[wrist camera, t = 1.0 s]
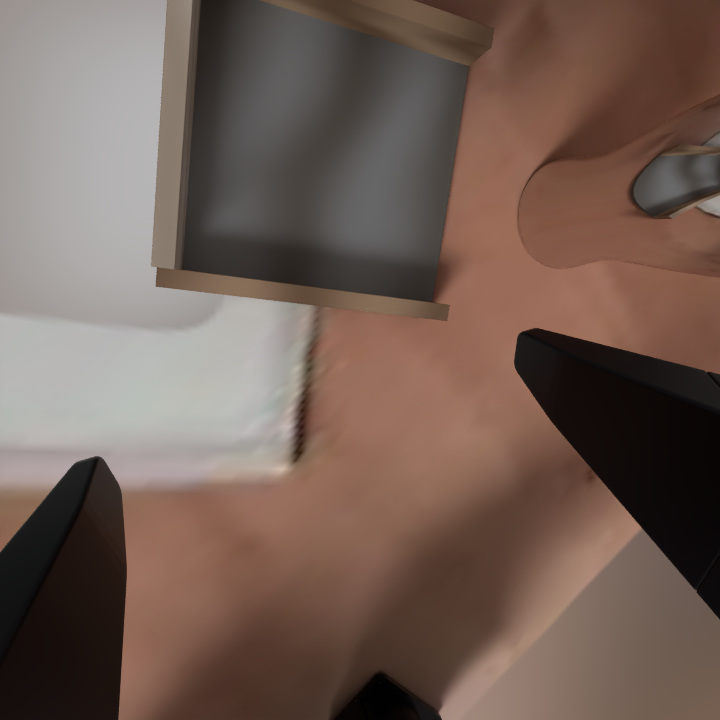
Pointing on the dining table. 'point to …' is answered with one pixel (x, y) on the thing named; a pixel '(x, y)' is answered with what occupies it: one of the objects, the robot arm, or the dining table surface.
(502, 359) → the dining table surface
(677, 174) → the silver metal cup
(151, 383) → the dining table surface
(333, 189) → the wooden tray
